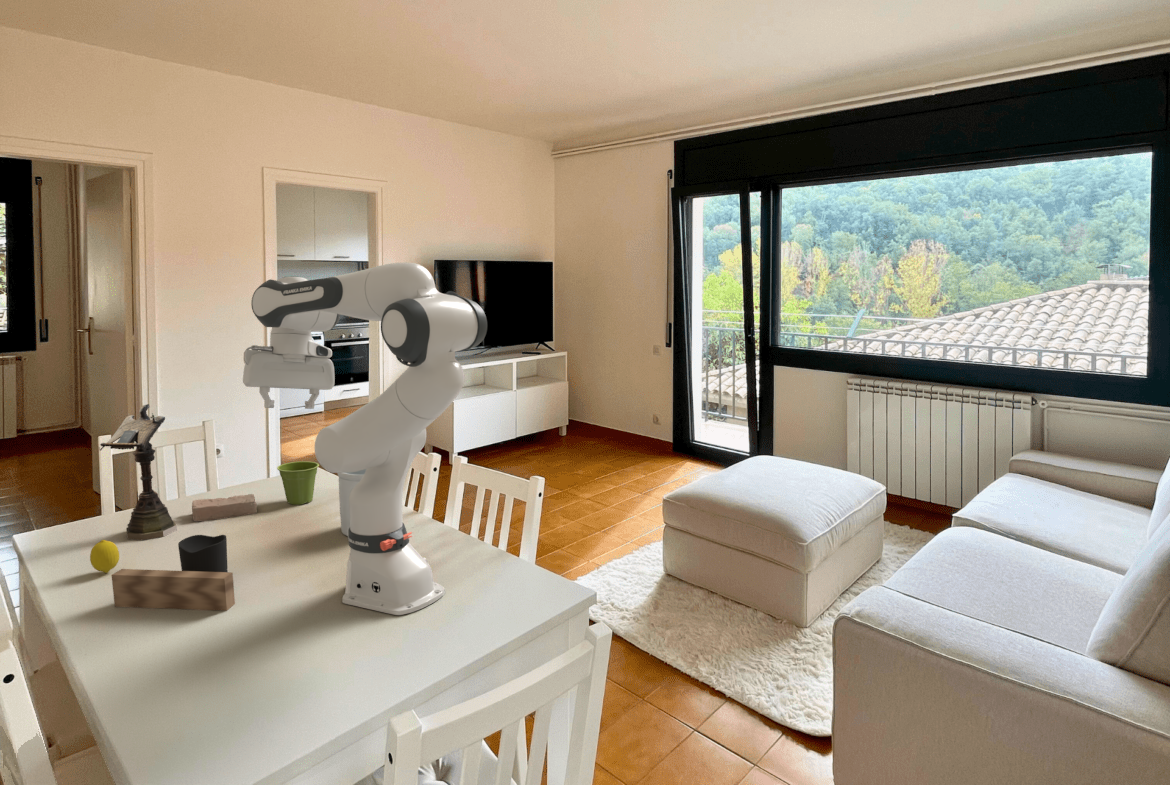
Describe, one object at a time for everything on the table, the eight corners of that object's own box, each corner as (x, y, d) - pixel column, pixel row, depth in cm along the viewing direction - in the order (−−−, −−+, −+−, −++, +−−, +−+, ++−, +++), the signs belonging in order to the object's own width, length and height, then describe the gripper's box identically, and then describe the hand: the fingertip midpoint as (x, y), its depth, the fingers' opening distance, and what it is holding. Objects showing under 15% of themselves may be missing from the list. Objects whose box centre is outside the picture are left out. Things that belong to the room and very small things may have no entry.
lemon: (95, 569, 162) (92, 537, 161) (123, 566, 164) (120, 534, 163) (88, 579, 157) (84, 545, 156) (117, 575, 159) (113, 542, 158)
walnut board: (235, 603, 146) (232, 572, 145) (227, 610, 143) (224, 578, 142) (124, 600, 147) (121, 568, 146) (114, 606, 144) (111, 574, 143)
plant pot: (324, 504, 211) (322, 468, 209) (281, 510, 205) (279, 473, 203) (317, 493, 221) (315, 459, 219) (277, 499, 215) (274, 463, 213)
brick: (255, 506, 209) (254, 491, 208) (257, 514, 202) (256, 498, 201) (192, 515, 201) (191, 499, 200) (193, 524, 194) (191, 508, 193)
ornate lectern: (147, 548, 175) (133, 412, 169) (100, 545, 177) (85, 410, 171) (192, 525, 191) (181, 400, 186) (149, 523, 193) (137, 399, 187)
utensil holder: (386, 516, 200) (384, 457, 197) (404, 532, 188) (402, 469, 185) (334, 526, 192) (330, 464, 189) (348, 543, 180) (345, 477, 177)
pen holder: (218, 570, 163) (215, 529, 161) (237, 581, 157) (233, 539, 155) (175, 583, 156) (171, 541, 154) (192, 596, 150) (189, 552, 148)
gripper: (250, 343, 150) (249, 407, 149) (338, 350, 165) (337, 408, 165) (238, 345, 154) (237, 407, 154) (325, 352, 170) (324, 409, 169)
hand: (289, 408), depth 159 cm, fingers open, 8 cm apart
